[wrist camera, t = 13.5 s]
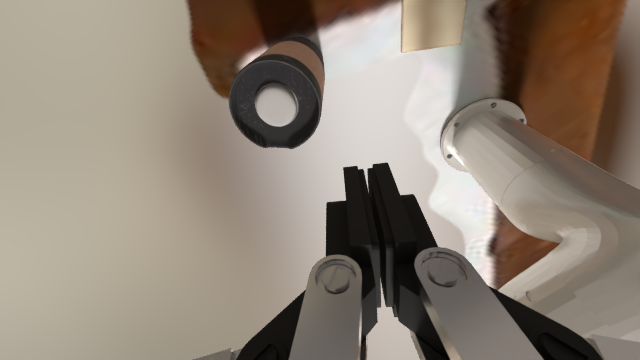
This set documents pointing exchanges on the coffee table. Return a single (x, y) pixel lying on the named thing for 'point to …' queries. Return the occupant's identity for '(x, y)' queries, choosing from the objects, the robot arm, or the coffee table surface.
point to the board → (431, 24)
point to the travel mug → (280, 94)
